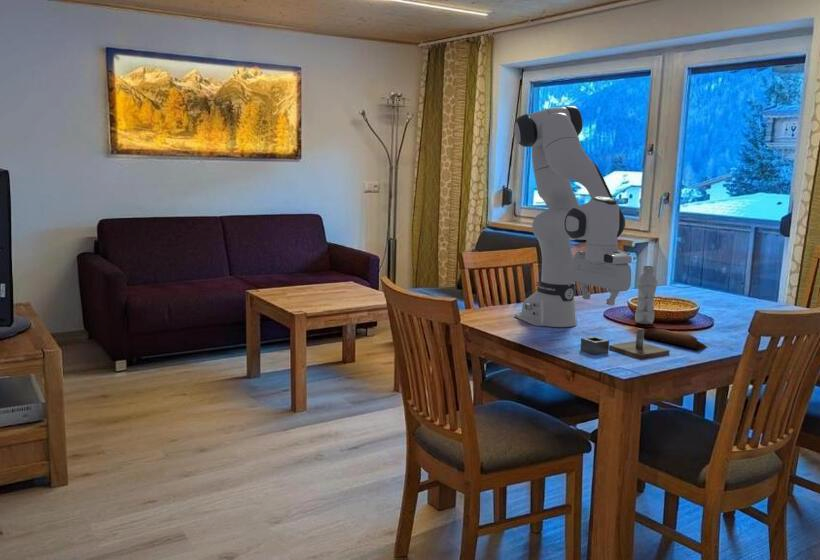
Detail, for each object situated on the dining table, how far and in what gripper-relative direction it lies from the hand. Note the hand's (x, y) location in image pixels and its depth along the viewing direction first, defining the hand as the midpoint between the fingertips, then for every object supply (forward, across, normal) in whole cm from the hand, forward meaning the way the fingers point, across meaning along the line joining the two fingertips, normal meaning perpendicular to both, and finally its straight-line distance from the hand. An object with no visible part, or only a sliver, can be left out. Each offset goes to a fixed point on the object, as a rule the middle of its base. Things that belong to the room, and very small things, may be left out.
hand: (598, 301), depth 207 cm
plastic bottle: (+15, -19, +43) cm, 49 cm away
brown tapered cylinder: (+16, +4, +31) cm, 35 cm away
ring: (+15, 0, 0) cm, 15 cm away
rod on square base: (+15, +6, +12) cm, 20 cm away
